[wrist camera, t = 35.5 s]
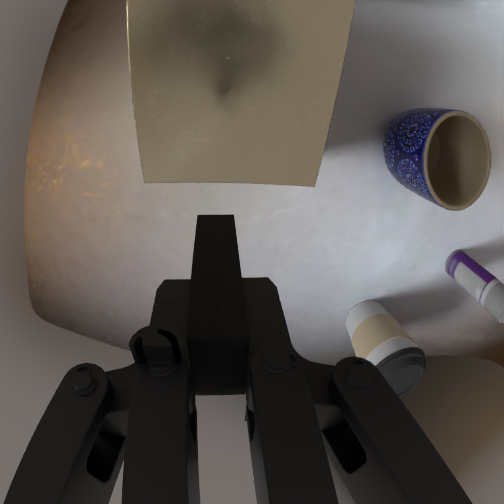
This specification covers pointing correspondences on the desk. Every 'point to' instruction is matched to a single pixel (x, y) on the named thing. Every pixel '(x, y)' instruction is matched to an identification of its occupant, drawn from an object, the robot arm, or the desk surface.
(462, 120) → the planter
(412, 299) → the desk surface
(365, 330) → the coffee cup
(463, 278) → the container
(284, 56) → the lid
